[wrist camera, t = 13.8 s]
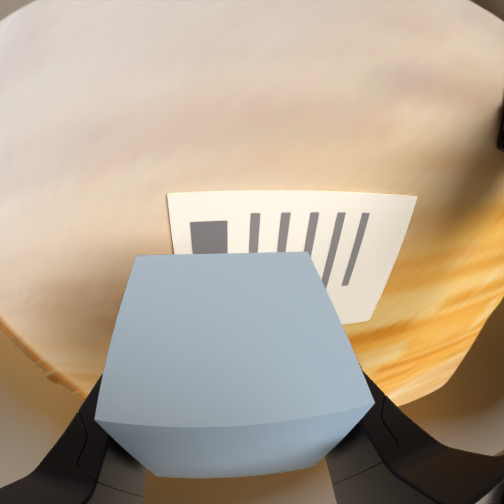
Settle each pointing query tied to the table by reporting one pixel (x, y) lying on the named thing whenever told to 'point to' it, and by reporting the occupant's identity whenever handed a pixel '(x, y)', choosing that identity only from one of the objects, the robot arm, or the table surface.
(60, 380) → the table surface
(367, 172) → the table surface
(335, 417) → the cube
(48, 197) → the table surface
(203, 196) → the letter
